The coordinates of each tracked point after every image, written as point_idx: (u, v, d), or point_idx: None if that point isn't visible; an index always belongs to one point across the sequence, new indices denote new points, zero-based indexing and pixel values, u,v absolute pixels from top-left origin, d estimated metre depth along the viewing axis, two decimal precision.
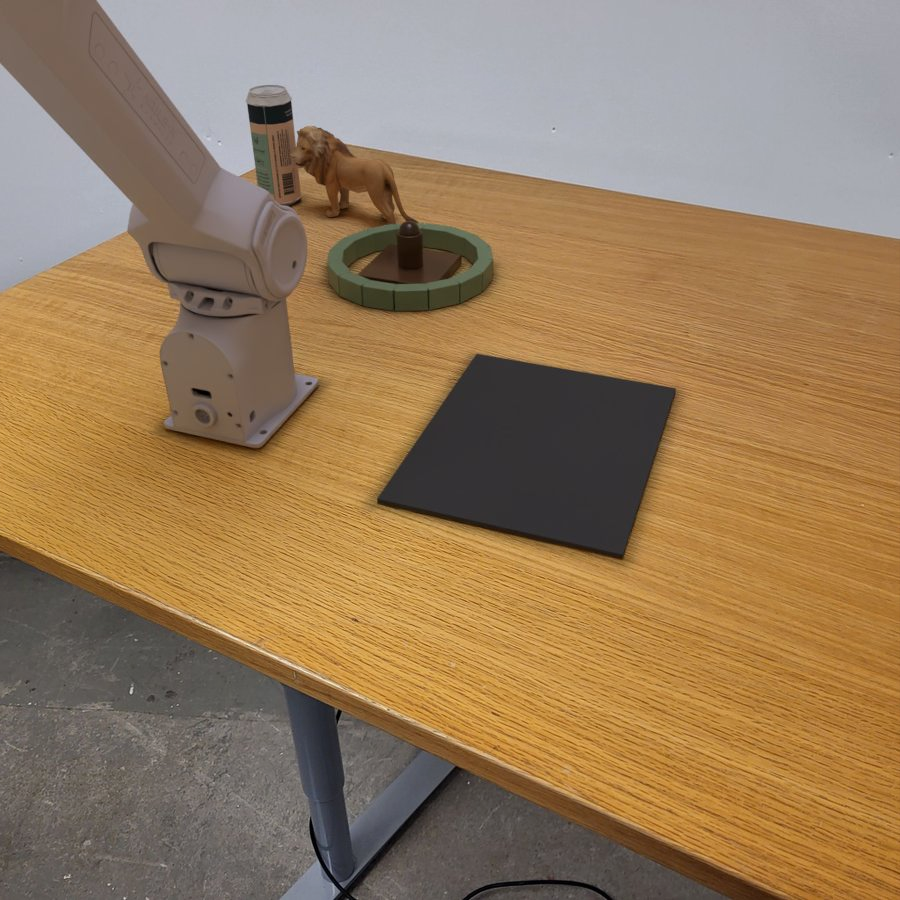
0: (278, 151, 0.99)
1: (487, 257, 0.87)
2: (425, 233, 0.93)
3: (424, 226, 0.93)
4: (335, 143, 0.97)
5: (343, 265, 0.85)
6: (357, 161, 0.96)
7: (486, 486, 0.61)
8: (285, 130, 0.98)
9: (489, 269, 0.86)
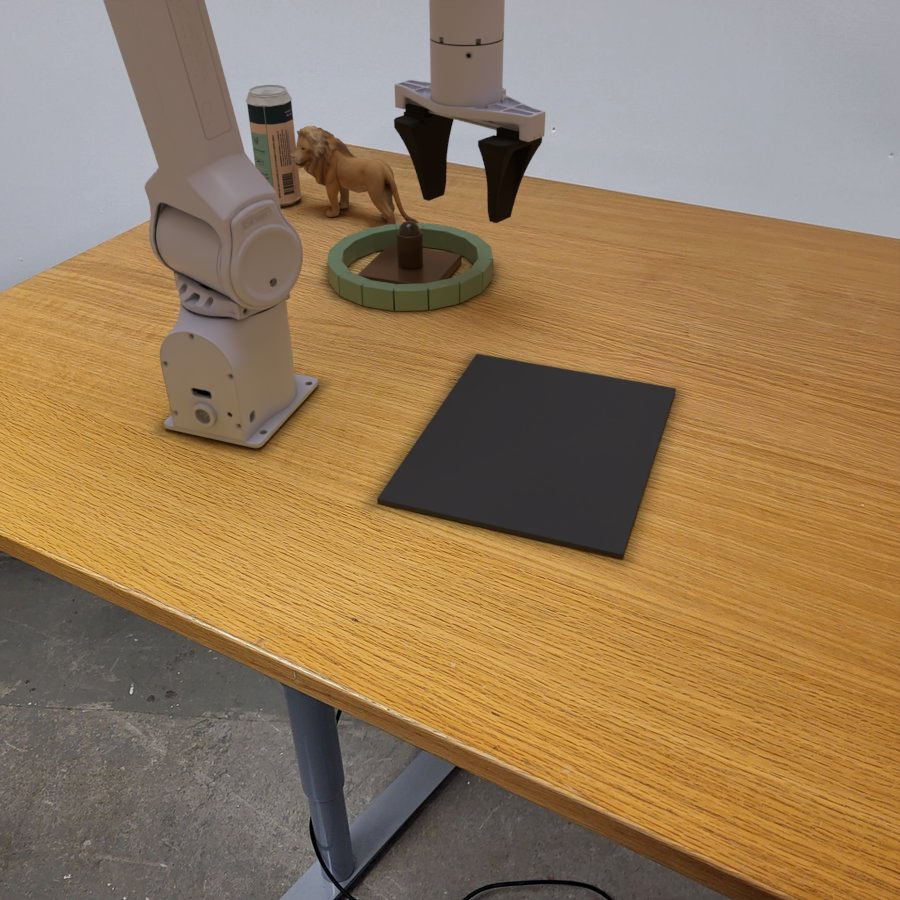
0: (278, 151, 0.99)
1: (487, 257, 0.87)
2: (425, 233, 0.93)
3: (424, 226, 0.93)
4: (335, 143, 0.97)
5: (343, 265, 0.85)
6: (357, 161, 0.96)
7: (486, 486, 0.61)
8: (285, 130, 0.98)
9: (489, 269, 0.86)
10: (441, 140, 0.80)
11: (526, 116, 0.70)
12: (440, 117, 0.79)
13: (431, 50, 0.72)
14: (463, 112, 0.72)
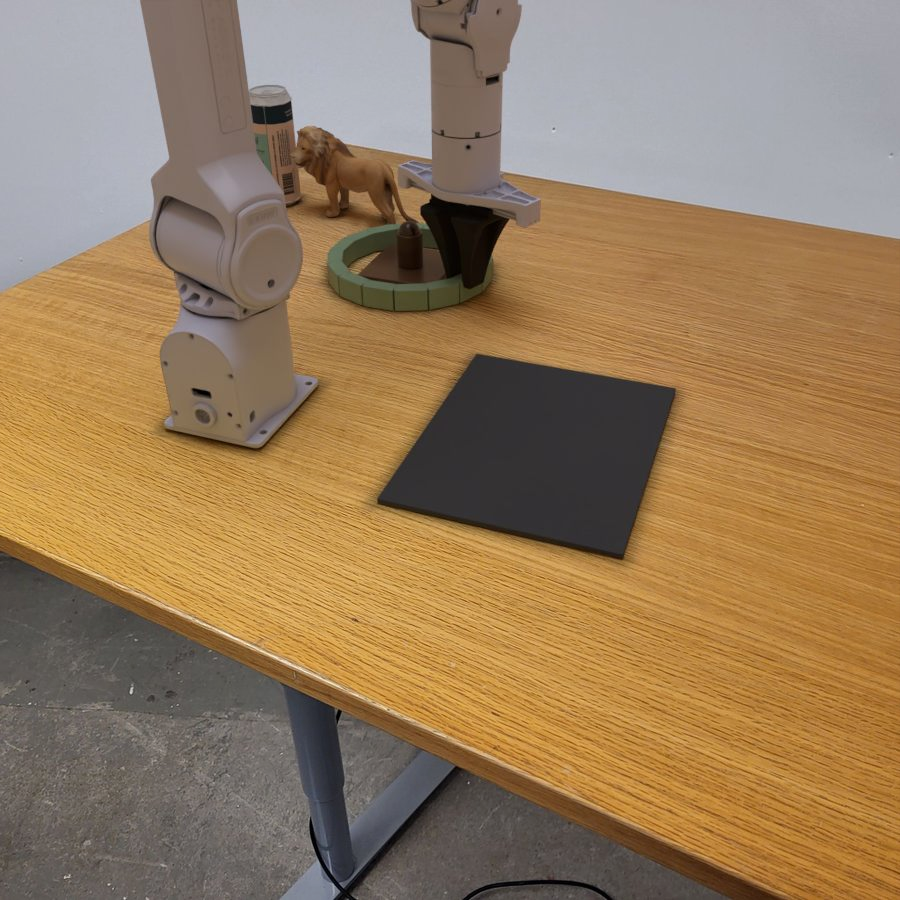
0: (278, 151, 0.99)
1: None
2: (425, 233, 0.93)
3: (424, 226, 0.93)
4: (335, 143, 0.97)
5: (343, 265, 0.86)
6: (357, 161, 0.96)
7: (486, 486, 0.61)
8: (285, 130, 0.98)
9: (489, 269, 0.86)
10: None
11: (523, 204, 0.74)
12: (465, 204, 0.81)
13: (433, 140, 0.76)
14: (463, 198, 0.76)
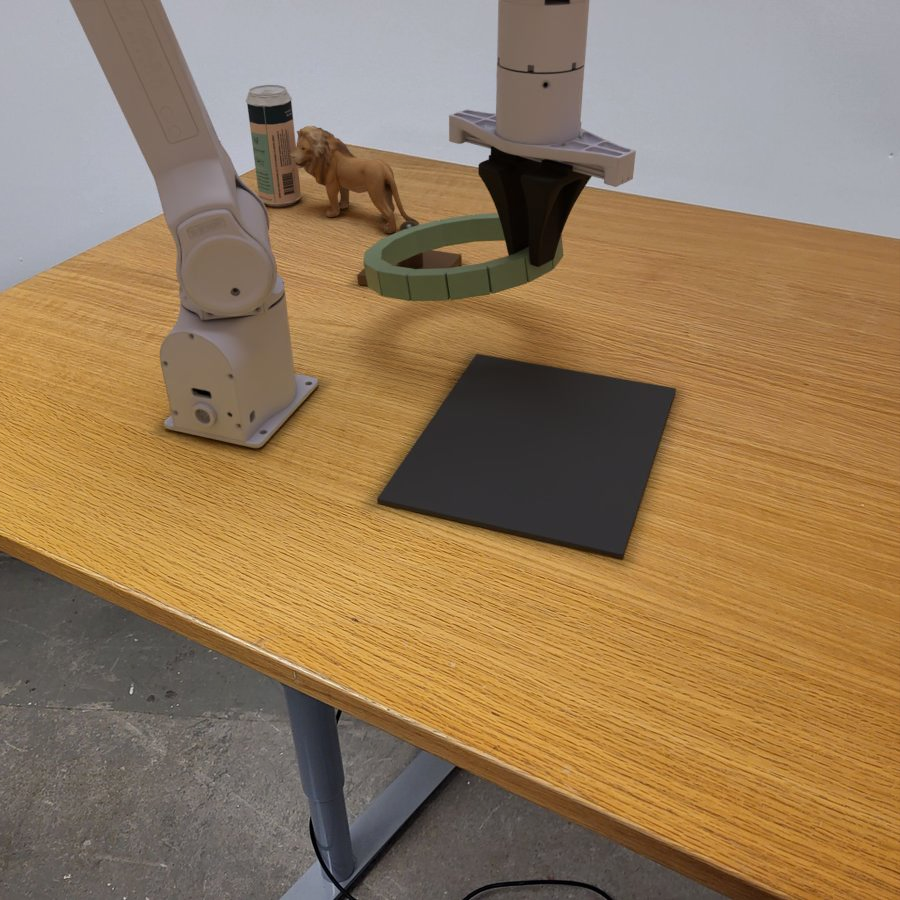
0: (278, 151, 0.99)
1: None
2: (476, 224, 0.79)
3: (473, 217, 0.79)
4: (335, 143, 0.97)
5: (383, 261, 0.71)
6: (357, 161, 0.96)
7: (486, 486, 0.61)
8: (285, 130, 0.98)
9: None
10: None
11: (615, 157, 0.59)
12: (532, 161, 0.66)
13: (499, 78, 0.60)
14: (537, 151, 0.61)
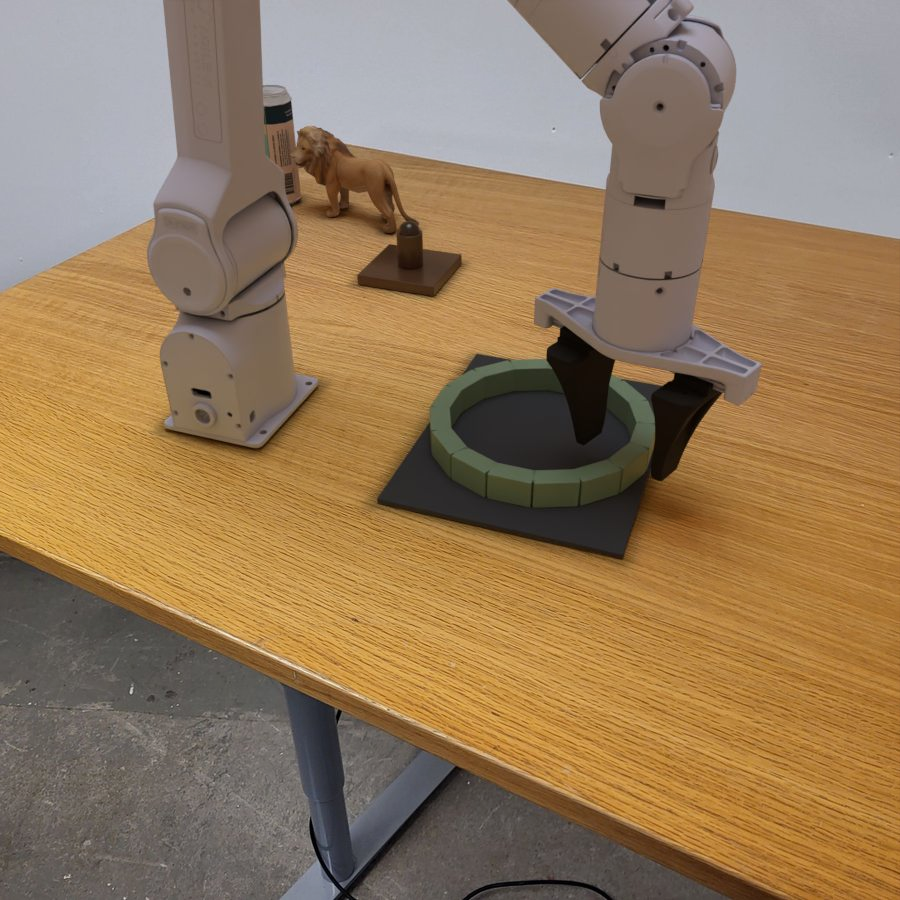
0: (278, 151, 0.99)
1: (648, 419, 0.64)
2: (552, 374, 0.70)
3: None
4: (335, 143, 0.97)
5: (454, 435, 0.62)
6: (357, 161, 0.96)
7: None
8: (285, 130, 0.98)
9: (653, 440, 0.63)
10: (604, 370, 0.60)
11: (739, 375, 0.51)
12: None
13: (602, 276, 0.52)
14: (645, 360, 0.53)
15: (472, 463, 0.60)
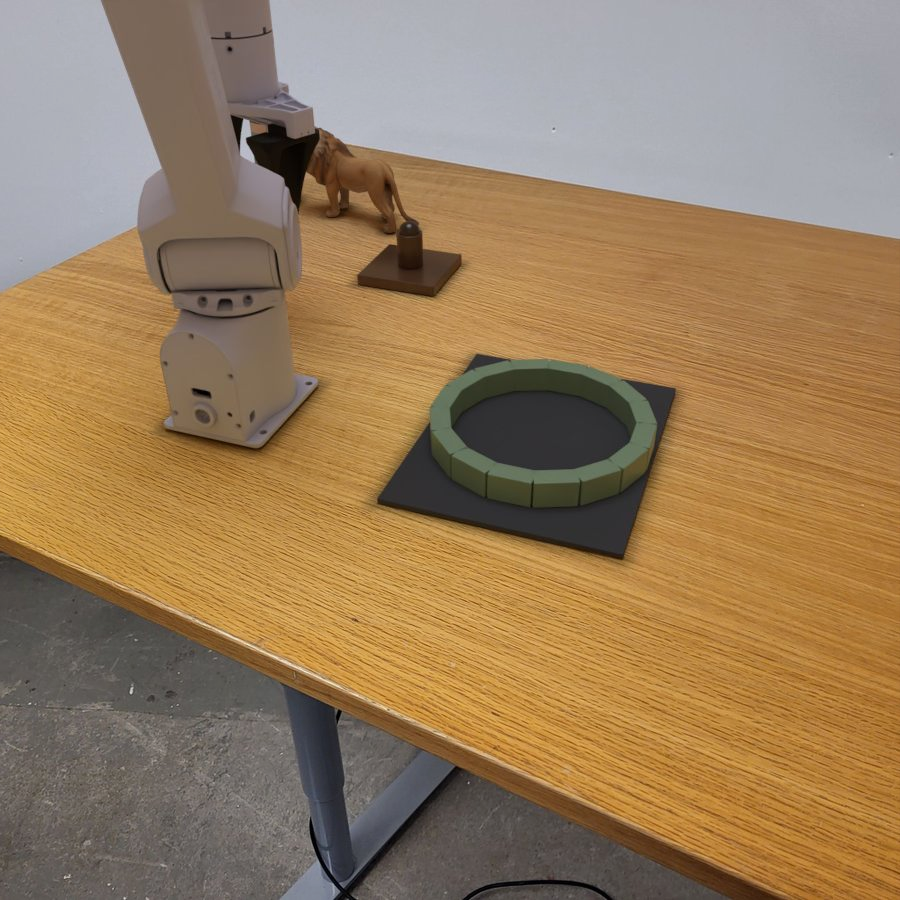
0: None
1: (648, 419, 0.64)
2: (552, 374, 0.70)
3: (550, 365, 0.70)
4: (335, 143, 0.97)
5: (454, 435, 0.62)
6: (357, 161, 0.96)
7: None
8: None
9: (653, 440, 0.63)
10: None
11: (289, 112, 0.68)
12: None
13: None
14: (230, 108, 0.70)
15: (472, 463, 0.60)
